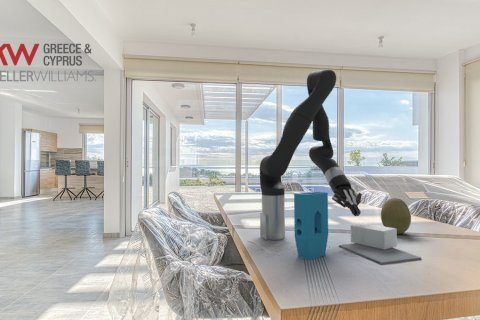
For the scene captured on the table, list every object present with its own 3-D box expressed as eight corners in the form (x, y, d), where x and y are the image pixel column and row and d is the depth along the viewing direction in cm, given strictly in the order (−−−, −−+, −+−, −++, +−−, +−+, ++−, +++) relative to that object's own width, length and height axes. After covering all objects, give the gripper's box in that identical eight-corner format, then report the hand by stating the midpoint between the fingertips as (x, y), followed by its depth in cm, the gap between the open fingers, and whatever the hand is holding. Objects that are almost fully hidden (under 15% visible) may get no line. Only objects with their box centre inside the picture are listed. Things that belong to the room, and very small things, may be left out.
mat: (381, 264, 85) (381, 262, 85) (338, 246, 104) (338, 244, 104) (421, 259, 89) (421, 257, 89) (373, 243, 108) (373, 241, 108)
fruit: (377, 233, 124) (376, 198, 124) (385, 229, 132) (385, 195, 132) (407, 237, 116) (406, 200, 116) (414, 232, 124) (413, 197, 125)
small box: (350, 242, 108) (384, 250, 97) (350, 225, 108) (383, 230, 97) (363, 239, 112) (397, 246, 101) (363, 222, 113) (397, 228, 102)
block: (306, 261, 88) (305, 195, 89) (293, 257, 92) (292, 193, 93) (329, 253, 96) (329, 192, 96) (317, 250, 100) (316, 191, 100)
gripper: (326, 174, 116) (347, 209, 104) (354, 173, 120) (377, 207, 108) (319, 186, 121) (338, 221, 109) (346, 186, 125) (367, 219, 113)
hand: (357, 214), depth 109 cm, fingers closed
